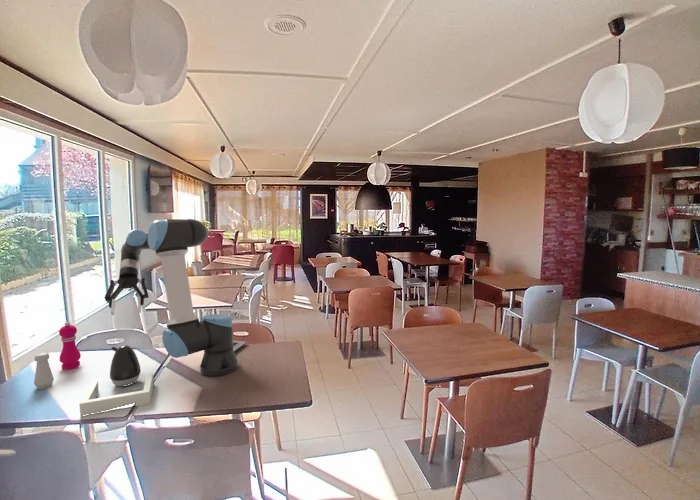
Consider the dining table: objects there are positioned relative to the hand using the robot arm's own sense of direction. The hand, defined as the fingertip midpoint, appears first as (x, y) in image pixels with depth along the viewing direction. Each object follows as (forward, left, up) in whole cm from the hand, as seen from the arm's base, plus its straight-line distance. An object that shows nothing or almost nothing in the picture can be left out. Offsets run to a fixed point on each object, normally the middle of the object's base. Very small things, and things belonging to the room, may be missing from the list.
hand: (126, 312), depth 160 cm
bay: (-18, +29, -23) cm, 41 cm away
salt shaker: (+17, +24, -23) cm, 37 cm away
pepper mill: (+22, +7, -23) cm, 32 cm away
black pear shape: (-12, +18, -23) cm, 32 cm away
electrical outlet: (-37, -21, -24) cm, 49 cm away
